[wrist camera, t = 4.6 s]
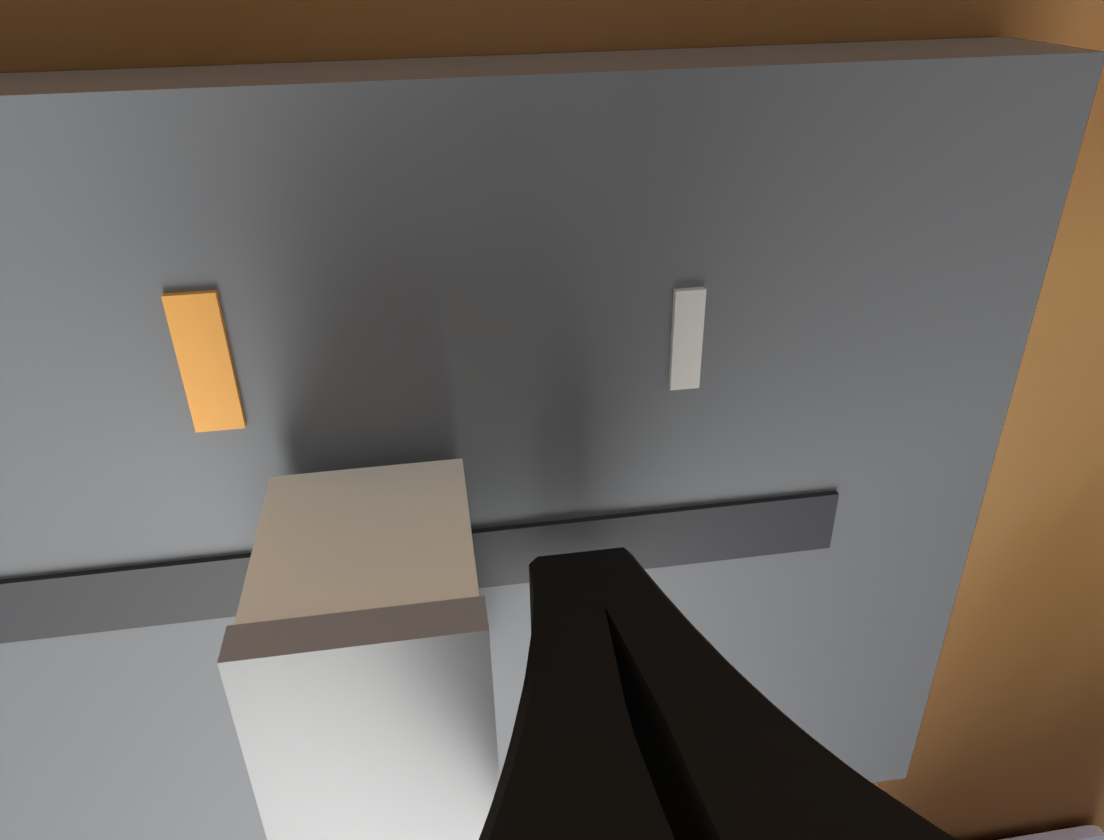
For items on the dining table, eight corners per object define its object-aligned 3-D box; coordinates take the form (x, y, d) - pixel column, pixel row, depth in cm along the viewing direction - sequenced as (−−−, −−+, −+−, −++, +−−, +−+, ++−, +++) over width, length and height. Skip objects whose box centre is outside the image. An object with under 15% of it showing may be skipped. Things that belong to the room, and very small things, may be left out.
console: (1004, 36, 12) (1112, 53, 10) (857, 699, 18) (908, 782, 16) (-461, 89, 10) (-658, 123, 8) (-48, 826, 16) (-105, 938, 14)
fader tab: (466, 454, 11) (489, 629, 8) (484, 685, 13) (507, 890, 10) (264, 473, 11) (216, 663, 8) (315, 707, 13) (291, 925, 10)
